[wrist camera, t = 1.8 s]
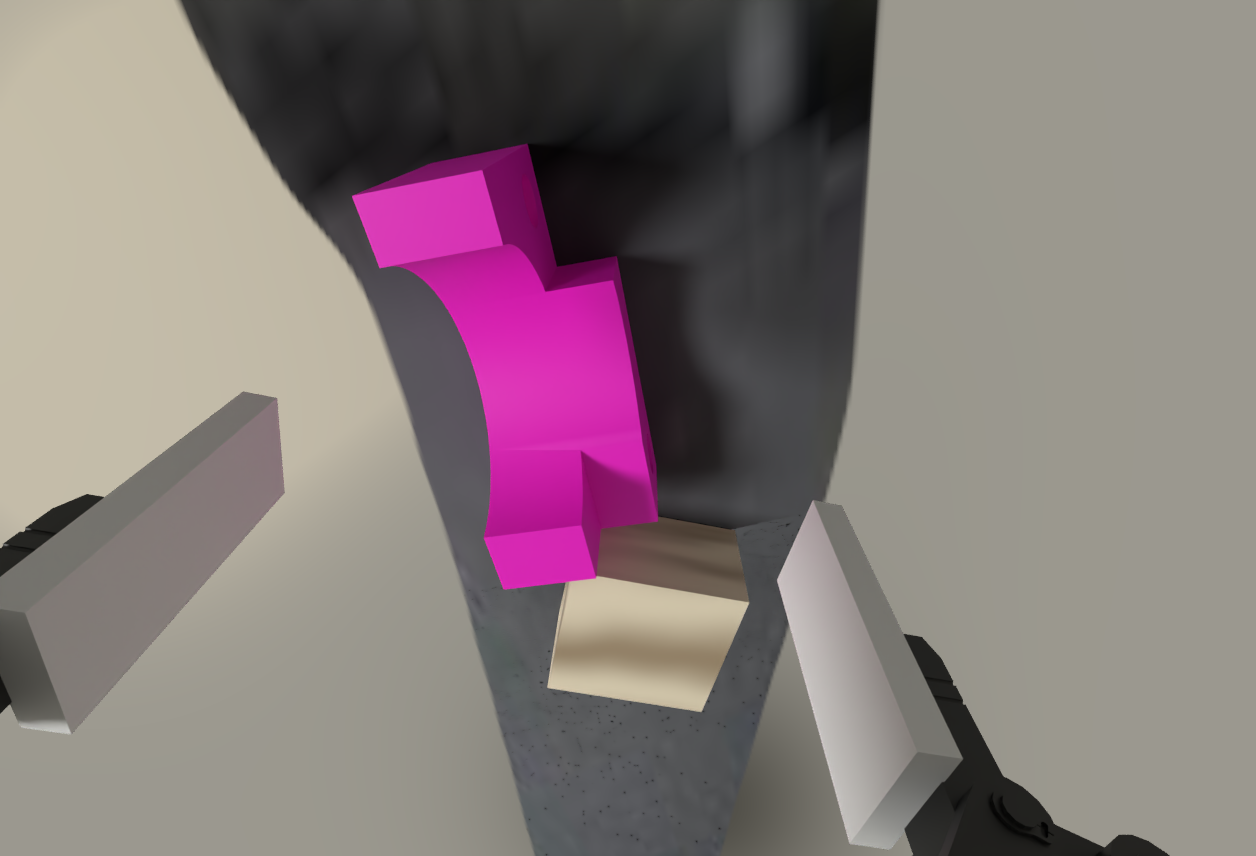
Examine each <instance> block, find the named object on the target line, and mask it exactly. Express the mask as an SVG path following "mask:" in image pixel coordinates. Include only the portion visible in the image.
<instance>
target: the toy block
mask: <svg viewBox="0 0 1256 856" xmlns="http://www.w3.org/2000/svg"><path fill="white" fill-rule="evenodd" d="M352 197H353V200H354V202H355V205H356V208H357V210H358V213H359V215H360V218H361V221H362V223H363V226H364V228H365V231H366V234H367V236H368V239H369V241H370V244H371V247H372V249H373V252H374V254H375V257H376V259H377V262H378V265H379V267H380V268H382V267H388V266H398V267H402V268H405V269H407V270H409V271H412V272H413V273H415V274H416V275H418V276H419V277H420V278H422V279H423V280H424V281H425V282H426V283H427V284H428V285H429V286H430V287H431V288H432V289H433V290H434V291H435V293H436V294H437V295H438V296H439V298H440V299H441V300H442V302H443V303H444V305H445V306H446V308H447V309H448V311H449V313H450V315H451V316H452V318H453V320H454V322H455V324H456V326H457V328H458V330H459V332H460V334H461V336H462V338H463V341H464V343H465V345H466V348H467V350H468V353H469V356H470V358H471V361H472V364H473V367H474V370H475V374H476V377H477V381H478V384H479V388H480V392H481V396H482V401H483V406H484V411H485V417H486V422H487V430H488V437H489V447H490V462H491V492H490V505H489V514H488V520H487V526H486V531H485V535H484V539H485V542H486V545H487V547H488V550H489V552H490V555H491V558H492V560H493V563H494V565H495V568H496V571H497V573H498V576H499V578H500V581H501V584H502V586H503V589H512V588H520V587H529V586H537V585H546V584H554V583H562V582H571V581H579V580H588V579H596V576H597V565H598V555H599V544H600V534H601V529H604V528H612V527H619V526H627V525H635V524H643V523H651V522H658V501H657V469H656V461H655V456H654V450H653V445H652V440H651V434H650V429H649V424H648V419H647V413H646V408H645V403H644V398H643V392H642V387H641V382H640V376H639V371H638V366H637V361H636V355H635V350H634V345H633V340H632V334H631V329H630V324H629V318H628V313H627V308H626V303H625V297H624V292H623V287H622V282H621V276H620V271H619V266H618V260H617V256H615V257H609V258H604V259H598V260H592V261H587V262H581V263H576V264H570V265H564V266H559V267H557V265H556V261H555V257H554V252H553V248H552V244H551V240H550V236H549V232H548V227H547V223H546V219H545V215H544V211H543V207H542V202H541V198H540V194H539V190H538V186H537V182H536V177H535V173H534V169H533V165H532V161H531V157H530V152H529V148H528V144H524V145H519V146H514V147H509V148H504V149H499V150H494V151H489V152H485V153H480V154H475V155H470V156H465V157H460V158H455V159H450V160H445V161H440V162H435V163H431V164H429V165H426V166H424V167H421V168H419V169H416V170H414V171H412V172H409V173H407V174H404V175H402V176H399V177H397V178H395V179H392V180H390V181H387V182H385V183H382V184H380V185H377V186H375V187H373V188H370V189H368V190H365V191H363V192H360V193H358V194H356V195H353V196H352Z"/></svg>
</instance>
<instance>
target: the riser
mask: <svg viewBox="0 0 1256 856" xmlns="http://www.w3.org/2000/svg"><path fill="white" fill-rule="evenodd" d="M748 604H749V599H748V594H747V589H746V584H745V579H744V574H743V569H742V564H741V559H740V554H739V549H738V544H737V539H736V534H735V530H729V529H724V528H718V527H713V526H707V525H702V524H697V523H691V522H686V521H680V520H675V519H669V518H664V517H659V516H658V522H651V523H643V524H635V525H627V526H619V527H612V528H604V529H601V534H600V544H599V555H598V565H597V576H596V579H588V580H579V581H571V582H566V584H565V589H564V593H563V598H562V602H561V607H560V611H559V617H558V624H557V630H556V636H555V643H554V649H553V655H552V662H551V668H550V675H549V681H548V687H547V688H552V689H558V690H565V691H571V692H578V693H584V694H590V695H597V696H603V697H609V698H616V699H622V700H629V701H635V702H641V703H648V704H654V705H660V706H667V707H673V708H680V709H686V710H692V711H699V712H702V709H703V707H704V705H705V703H706V700H707V698H708V696H709V693H710V691H711V689H712V687H713V684H714V682H715V680H716V677H717V675H718V673H719V671H720V668H721V666H722V664H723V661H724V659H725V657H726V655H727V652H728V650H729V648H730V645H731V643H732V641H733V639H734V636H735V634H736V632H737V629H738V627H739V625H740V623H741V620H742V618H743V616H744V613H745V611H746V609H747V607H748Z"/></svg>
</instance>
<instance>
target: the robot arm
mask: <svg viewBox="0 0 1256 856" xmlns="http://www.w3.org/2000/svg"><path fill="white" fill-rule="evenodd" d="M282 469H283V467H282V455H281V443H280V430H279V417H278V404H277V398H274V397H268V396H264V395H258V394H253V393H248V392H242V393H241V394H240V395H238V396H237V397H235V398H234V399H233V400H231V401H230V402H229V403H228V404H226V405H225V406H224V407H222V408H221V409H220V410H218V411H217V412H216V413H214V414H213V415H212V416H210V417H209V418H208V419H207V420H205V421H204V422H203V423H201V424H200V425H199V426H197V427H196V428H195V429H193V430H192V431H191V432H189V433H188V434H187V435H186V436H184V437H183V438H182V439H180V440H179V441H178V442H176V443H175V444H174V445H173V446H171V447H170V448H168V449H167V450H166V451H165V452H163V453H162V454H161V455H159V456H158V457H157V458H155V459H154V460H153V461H151V462H150V463H149V464H148V465H146V466H145V467H144V468H142V469H141V470H140V471H138V472H137V473H136V474H135V475H133V476H132V477H130V478H129V479H128V480H127V481H125V482H124V483H123V484H121V485H120V486H119V487H117V488H116V489H115V490H114V491H112V492H111V493H110V494H108V495H107V496H106V497H101V496H95V495H89V494H86V495H84V496H81V497H79V498H77V499H74V500H72V501H69V502H67V503H65V504H62V505H60V506H57V507H55V508H53V509H51V510H50V511H48V512H47V513H46V514H44V515H43V516H41V517H40V518H39V519H37V520H36V521H34V522H33V523H32V524H30V525H29V526H27V527H26V528H25V531H24V532H19V533H18V534H16V535H15V536H13V537H12V538H11V539H9V540H8V541H7V542H5V543H4V544H3V547H2V548H0V713H1V712H2V711H3V710H4V709H5V708H6V707H7V706H8V705H9V704H10V705H11V707H12V709H13V712H14V714H15V716H16V718H17V721H18V723H19V725H20V727H22V728H29V729H36V730H43V731H51V732H58V733H65V734H72V733H73V732H74V731H75V730H76V729H77V727H78V726H79V725H80V724H81V723H82V722H83V721H84V720H85V718H86V717H87V716H88V715H89V714H90V713H91V712H92V711H93V709H94V708H95V707H96V706H97V705H98V704H99V703H100V701H101V700H102V699H103V698H104V697H105V696H106V695H107V694H108V692H109V691H110V690H111V689H112V688H113V686H114V685H115V684H116V683H117V682H118V681H119V680H120V679H121V678H122V676H123V675H124V674H125V673H126V672H127V671H128V670H129V669H130V667H131V666H132V665H133V664H134V663H135V662H136V661H137V659H138V658H139V657H140V656H141V655H142V654H143V653H144V651H145V650H146V649H147V648H148V647H149V646H150V645H151V644H152V642H153V641H154V640H155V639H156V638H157V637H158V636H159V635H160V633H161V632H162V631H163V630H164V629H165V628H166V627H167V625H168V624H169V623H170V622H171V621H172V620H173V619H174V617H175V616H176V615H177V614H178V613H179V611H181V609H182V608H183V607H184V606H185V605H186V604H187V603H188V602H189V600H190V599H191V598H192V597H193V596H194V595H195V594H196V593H197V591H198V590H199V589H200V588H201V587H202V585H204V583H205V582H206V581H207V580H208V579H209V578H210V577H211V575H212V574H213V573H214V572H215V571H216V570H217V569H218V567H219V566H220V565H221V564H222V563H223V562H224V561H225V560H226V558H227V557H228V556H229V555H230V554H231V553H232V552H233V551H234V549H235V548H236V547H237V546H238V545H239V544H240V543H241V541H242V540H243V539H244V538H245V537H246V536H247V535H248V533H249V532H250V531H251V530H252V529H253V528H254V527H255V525H256V524H257V523H258V522H259V521H260V520H261V518H263V516H264V515H265V514H266V513H267V512H268V511H269V510H270V508H271V507H272V506H273V505H274V504H275V503H276V502H277V500H278V499H279V498H280V497H281V496H282V495H283V494H284V480H283V470H282ZM777 582H778V585H779V589H780V592H781V596H782V600H783V603H784V607H785V611H786V614H787V618H788V622H789V625H790V629H791V632H792V636H793V640H794V643H795V647H796V651H797V654H798V658H799V661H800V665H801V669H802V672H803V676H804V679H805V683H806V687H807V691H808V694H809V698H810V701H811V705H812V708H813V712H814V716H815V720H816V723H817V727H818V730H819V734H820V738H821V741H822V745H823V749H824V752H825V756H826V760H827V763H828V767H829V771H830V774H831V778H832V781H833V785H834V789H835V792H836V796H837V799H838V803H839V807H840V810H841V814H842V817H843V821H844V825H845V828H846V832H847V836H848V840H849V843H850V844H854V845H861V846H869V847H876V848H883V849H891V848H892V846H893V845H894V844H895V843H896V842H897V840H898V839H899V838H900V837H901V835H902V834H903V833H904V832H906V835H907V838H908V841H909V844H910V847H911V849H912V852H913V856H1169V855H1168V854H1167V853H1165V852H1164V851H1162V850H1161V849H1159V848H1158V847H1156V846H1155V845H1153V844H1152V843H1150V842H1149V841H1146V840H1144V839H1141V838H1139V837H1136V836H1133V835H1118V836H1117V837H1116V838H1115V839H1114V840H1113V841H1112V842H1110V843H1109V844H1108V845H1107V846H1106V847H1105V848H1104V847H1102V846H1100V845H1098V844H1096V843H1093V842H1091V841H1089V840H1087V839H1085V838H1082V837H1080V836H1078V835H1076V834H1074V833H1071V832H1070V831H1067V830H1065V829H1063V828H1061V827H1059V826H1057V825H1055V824H1054V823H1053V821H1052V819H1051V817H1050V815H1049V814H1048V813H1047V812H1046V810H1045V809H1044V808H1043V806H1042V805H1041V804H1040V802H1039V801H1038V800H1037V799H1036V798H1034V797H1033V796H1032V795H1031V794H1030V793H1029V792H1028V791H1026V790H1025V789H1024V788H1023V787H1022V786H1020V785H1018V784H1016V783H1014V782H1013V781H1011V780H1009V779H1007V778H1005V777H1003V775H1002V773H1001V771H1000V770H999V768H998V766H997V764H996V762H995V760H994V758H993V756H992V754H991V753H990V750H989V749H988V747H987V745H986V743H985V741H984V739H983V737H982V735H981V733H980V731H979V730H978V728H977V726H976V724H975V722H974V720H973V718H972V716H971V714H970V712H969V711H968V709H967V707H966V705H963V699H962V697H961V695H960V694H959V691H958V689H957V688H956V686H953V680H952V678H951V676H950V674H949V672H948V670H947V669H946V667H945V665H944V663H943V661H942V659H941V658H940V657H939V656H938V655H937V653H936V652H935V651H934V650H933V649H932V648H931V647H930V646H929V645H928V644H927V642H926V641H925V640H924V639H923V638H922V637H918V636H913V635H907V634H903V632H902V630H901V628H900V626H899V624H898V622H897V620H896V618H895V616H894V614H893V612H892V610H891V607H890V605H889V603H888V601H887V599H886V597H885V595H884V593H883V591H882V589H881V587H880V584H879V582H878V580H877V578H876V576H875V574H874V572H873V570H872V568H871V566H870V563H869V561H868V559H867V557H866V555H865V553H864V551H863V549H862V547H861V545H860V543H859V540H858V538H857V536H856V534H855V532H854V530H853V528H852V526H851V524H850V522H849V520H848V517H847V515H846V513H845V511H844V509H843V507H842V506H841V505H836V504H830V503H825V502H820V501H815V500H813V501H812V504H811V506H810V508H809V510H808V513H807V515H806V517H805V519H804V521H803V524H802V526H801V528H800V530H799V533H798V535H797V537H796V539H795V542H794V544H793V546H792V548H791V550H790V553H789V555H788V557H787V559H786V562H785V564H784V566H783V568H782V571H781V573H780V575H779V577H778V580H777Z"/></svg>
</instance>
